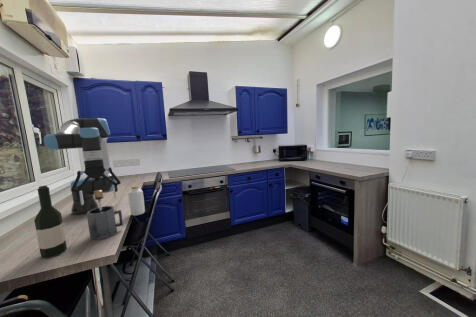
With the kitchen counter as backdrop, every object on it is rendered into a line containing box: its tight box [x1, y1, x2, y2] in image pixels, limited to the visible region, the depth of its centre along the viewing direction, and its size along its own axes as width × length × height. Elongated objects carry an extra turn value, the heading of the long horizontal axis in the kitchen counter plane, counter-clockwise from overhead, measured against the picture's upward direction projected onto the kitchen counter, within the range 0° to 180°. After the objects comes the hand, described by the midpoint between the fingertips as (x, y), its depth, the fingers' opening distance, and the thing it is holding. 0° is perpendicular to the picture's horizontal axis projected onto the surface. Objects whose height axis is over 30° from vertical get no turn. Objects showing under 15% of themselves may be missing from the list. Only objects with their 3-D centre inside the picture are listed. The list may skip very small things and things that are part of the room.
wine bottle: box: [33, 185, 68, 260], centre depth 84 cm, size 8×8×30 cm
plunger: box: [94, 190, 104, 213], centre depth 98 cm, size 7×7×19 cm
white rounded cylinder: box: [127, 185, 146, 216], centre depth 125 cm, size 8×8×18 cm
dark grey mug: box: [86, 205, 124, 241], centre depth 100 cm, size 12×14×13 cm
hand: (99, 201), depth 98 cm, fingers open, 13 cm apart
